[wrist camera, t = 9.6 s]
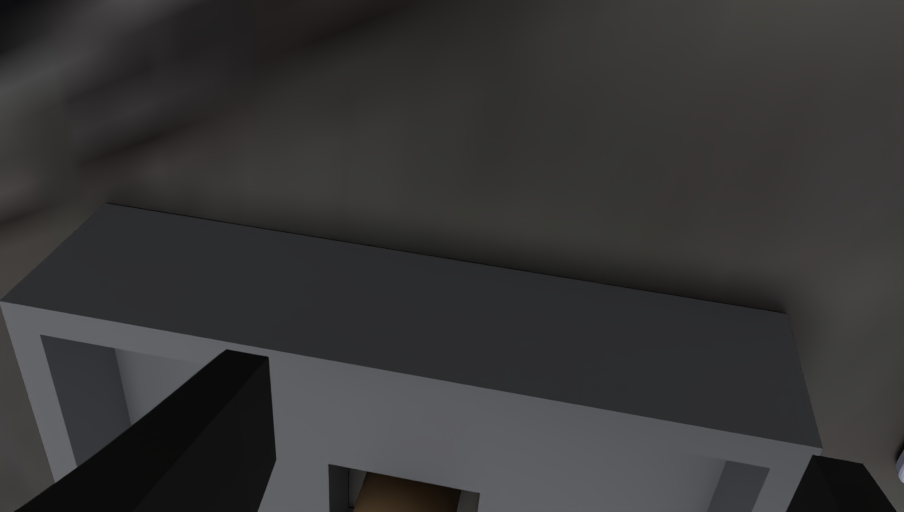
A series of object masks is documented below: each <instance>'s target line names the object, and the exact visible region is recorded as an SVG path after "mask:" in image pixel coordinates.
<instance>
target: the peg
mask: <svg viewBox="0 0 904 512" xmlns="http://www.w3.org/2000/svg"><path fill="white" fill-rule="evenodd" d="M460 493H461V489H456V488H451V487H446V486H441V485H435V484H430V483H425V482H420V481H415V480H410V479H404V478H399V477H394V476H389V475H384V474H379V473H373V472H368V471H367V473H366V476H365V479H364V482H363V485H362V488H361V491H360V493H359V496H358V499H357V502H356V505H355V508H354V511H353V512H456V511H457V507H458V502H459V497H460Z"/></svg>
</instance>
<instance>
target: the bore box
mask: <svg viewBox="0 0 904 512" xmlns="http://www.w3.org/2000/svg"><path fill="white" fill-rule="evenodd" d="M0 305H1V308H2V312H3V315H4V318H5V321H6V325H7V328H8V331H9V334H10V338H11V341H12V344H13V347H14V351H15V354H16V357H17V360H18V364H19V367H20V370H21V373H22V377H23V380H24V383H25V386H26V390H27V393H28V396H29V399H30V403H31V406H32V409H33V412H34V416H35V419H36V422H37V425H38V429H39V432H40V435H41V438H42V442H43V445H44V448H45V451H46V455H47V458H48V461H49V464H50V467H51V471H52V474H53V477H54V480H55V483H56V482H57V481H58V480H60V479H61V478H63V477H64V476H65V475H67V474H68V473H70V472H71V471H72V470H74V469H75V468H77V467H78V466H79V465H81V464H82V463H84V462H85V461H86V460H88V459H89V458H90V457H92V456H93V455H94V454H96V453H97V452H98V451H100V450H101V449H102V448H103V447H105V446H106V445H107V444H109V443H110V442H111V441H112V440H114V439H115V438H116V437H118V436H119V435H120V434H121V433H123V432H124V431H125V430H127V429H128V428H129V427H130V426H132V425H133V424H134V423H136V422H137V421H138V420H139V419H141V418H142V417H143V416H144V415H146V414H147V413H148V412H149V411H151V410H152V409H153V408H154V407H155V406H157V405H158V404H159V403H160V402H162V401H163V400H164V399H165V398H167V397H168V396H169V395H170V394H171V393H173V392H174V391H175V390H176V389H178V388H179V387H180V386H181V385H182V384H184V383H185V382H186V381H187V380H188V379H190V378H191V377H192V376H193V375H194V374H196V373H197V372H198V371H199V370H200V369H202V368H203V367H204V366H205V365H207V364H208V363H209V362H210V361H211V360H213V359H214V358H215V357H216V356H218V355H219V354H220V353H222V352H223V351H225V350H226V349H229V350H234V351H240V352H245V353H251V354H256V355H262V356H267V357H269V366H270V380H271V393H272V406H273V420H274V433H275V446H276V459H277V460H276V463H275V465H274V468H273V471H272V474H271V477H270V479H269V482H268V485H267V488H266V491H265V493H264V496H263V499H262V502H261V504H260V507H259V509H258V512H353V511H354V509H352V508H348V468H353V469H358V470H363V471H368V472H373V473H379V474H384V475H389V476H394V477H399V478H404V479H410V480H415V481H420V482H425V483H430V484H435V485H441V486H446V487H451V488H456V489H461V490H466V491H471V492H477V493H480V498H479V505H478V512H786V510H787V508H788V506H789V504H790V502H791V500H792V498H793V495H794V493H795V491H796V489H797V487H798V485H799V483H800V481H801V478H802V476H803V474H804V472H805V470H806V468H807V466H808V463H809V461H810V459H811V457H812V455H817V456H820V454H821V452H822V450H823V447H822V443H821V440H820V436H819V432H818V429H817V425H816V421H815V417H814V414H813V410H812V406H811V402H810V399H809V395H808V391H807V387H806V384H805V380H804V376H803V373H802V369H801V365H800V361H799V358H798V354H797V350H796V346H795V343H794V339H793V335H792V331H791V328H790V324H789V320H788V316H787V314H784V313H778V312H772V311H766V310H760V309H753V308H747V307H741V306H735V305H729V304H723V303H716V302H710V301H704V300H698V299H692V298H686V297H679V296H673V295H667V294H661V293H655V292H649V291H642V290H636V289H630V288H624V287H618V286H612V285H606V284H599V283H593V282H587V281H581V280H575V279H569V278H562V277H556V276H550V275H544V274H538V273H532V272H525V271H519V270H513V269H507V268H501V267H495V266H488V265H482V264H476V263H470V262H464V261H458V260H452V259H445V258H439V257H433V256H427V255H421V254H415V253H408V252H402V251H396V250H390V249H384V248H378V247H371V246H365V245H359V244H353V243H347V242H341V241H334V240H328V239H322V238H316V237H310V236H304V235H298V234H291V233H285V232H279V231H273V230H267V229H261V228H254V227H248V226H242V225H236V224H230V223H224V222H217V221H211V220H205V219H199V218H193V217H187V216H180V215H174V214H168V213H162V212H156V211H150V210H144V209H137V208H131V207H125V206H119V205H113V204H107V203H105V204H104V205H103V206H102V207H101V208H100V209H99V210H98V211H96V212H95V213H94V214H93V215H92V216H91V217H90V218H89V219H88V220H87V221H86V222H85V223H83V224H82V225H81V226H80V227H79V228H78V229H77V230H76V231H75V232H74V233H73V234H72V235H70V236H69V237H68V238H67V239H66V240H65V241H64V242H63V243H62V244H61V245H60V246H58V247H57V248H56V249H55V250H54V251H53V252H52V253H51V254H50V255H49V256H48V257H47V258H45V259H44V260H43V261H42V262H41V263H40V264H39V265H38V266H37V267H36V268H35V269H34V270H32V271H31V272H30V273H29V274H28V275H27V276H26V277H25V278H24V279H23V280H22V281H20V282H19V283H18V284H17V285H16V286H15V287H14V288H13V289H12V290H11V291H10V292H9V293H7V294H6V295H5V296H4V297H3V298H2V299H1V300H0Z"/></svg>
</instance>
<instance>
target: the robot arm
mask: <svg viewBox="0 0 904 512" xmlns="http://www.w3.org/2000/svg"><path fill="white" fill-rule="evenodd" d="M276 460H277V459H276V446H275V433H274V420H273V406H272V393H271V380H270V366H269V357H267V356H262V355H256V354H251V353H245V352H240V351H234V350H229V349H226V350H225V351H223V352H222V353H220V354H219V355H218V356H216V357H215V358H214V359H213V360H211V361H210V362H209V363H208V364H207V365H205V366H204V367H203V368H202V369H200V370H199V371H198V372H197V373H196V374H194V375H193V376H192V377H191V378H190V379H188V380H187V381H186V382H185V383H184V384H182V385H181V386H180V387H179V388H178V389H176V390H175V391H174V392H173V393H171V394H170V395H169V396H168V397H167V398H165V399H164V400H163V401H162V402H160V403H159V404H158V405H157V406H155V407H154V408H153V409H152V410H151V411H149V412H148V413H147V414H146V415H144V416H143V417H142V418H141V419H139V420H138V421H137V422H136V423H134V424H133V425H132V426H130V427H129V428H128V429H127V430H125V431H124V432H123V433H121V434H120V435H119V436H118V437H116V438H115V439H114V440H112V441H111V442H110V443H109V444H107V445H106V446H105V447H103V448H102V449H101V450H100V451H98V452H97V453H96V454H94V455H93V456H92V457H90V458H89V459H88V460H86V461H85V462H84V463H82V464H81V465H79V466H78V467H77V468H75V469H74V470H72V471H71V472H70V473H68V474H67V475H65V476H64V477H63V478H61V479H60V480H58V481H57V482H56V483H54V484H53V485H51V486H50V487H49V488H47V489H46V490H44V491H43V492H42V493H40V494H39V495H37V496H36V497H35V498H33V499H32V500H30V501H29V502H28V503H26V504H25V505H23V506H22V507H20V508H19V509H17V510H16V511H14V512H258V509H259V507H260V504H261V502H262V499H263V496H264V493H265V491H266V488H267V485H268V482H269V479H270V477H271V474H272V471H273V468H274V465H275V463H276ZM896 470H897V473H898V476H899V478H900V481H901V482H903V483H904V450H903V452H902V454H901V455H900V457H899V459H898V461H897V463H896ZM786 512H897V511H896V510H895V509H894V507H893V506H892V504H891V503H890V502H889V500H888V499H887V497H886V496H885V494H884V493H883V492H882V490H881V489H880V487H879V486H878V484H877V483H876V482H875V480H874V479H873V477H872V476H871V475H870V473H869V472H868V470H867V469H866V468H865V466H864V465H863V464H861V463H856V462H850V461H845V460H839V459H834V458H828V457H822V456H817V455H812V457H811V459H810V461H809V463H808V466H807V468H806V470H805V472H804V474H803V476H802V478H801V481H800V483H799V485H798V487H797V489H796V491H795V493H794V495H793V498H792V500H791V502H790V504H789V506H788V508H787V510H786Z"/></svg>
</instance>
